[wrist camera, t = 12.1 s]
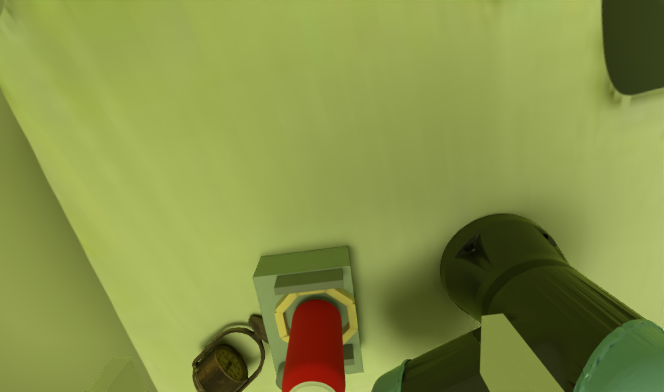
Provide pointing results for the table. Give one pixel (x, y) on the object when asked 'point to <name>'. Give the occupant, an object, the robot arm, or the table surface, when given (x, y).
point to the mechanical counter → (227, 362)
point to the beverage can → (315, 349)
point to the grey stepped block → (306, 298)
